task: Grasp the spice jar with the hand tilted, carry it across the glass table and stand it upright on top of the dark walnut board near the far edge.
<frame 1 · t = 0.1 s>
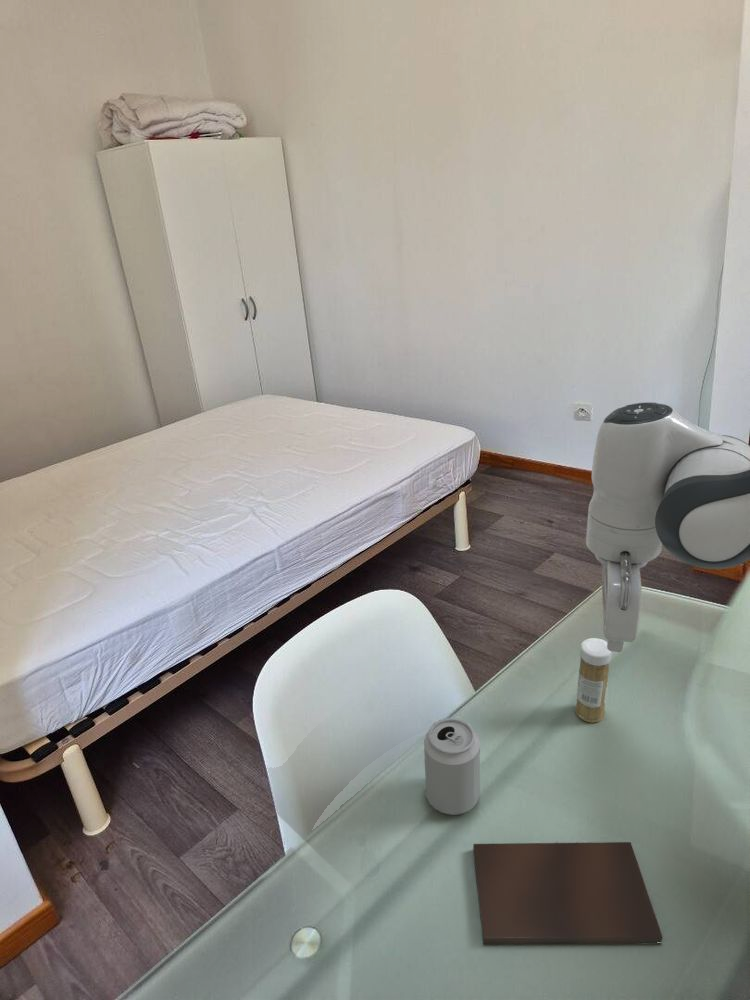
hand: (613, 625, 90), 25 cm above the table, tool pointing down, fingers open, 8 cm apart
spice jar: (589, 714, 109), on the table
walnut board: (560, 893, 83), on the table
can: (452, 797, 97), on the table
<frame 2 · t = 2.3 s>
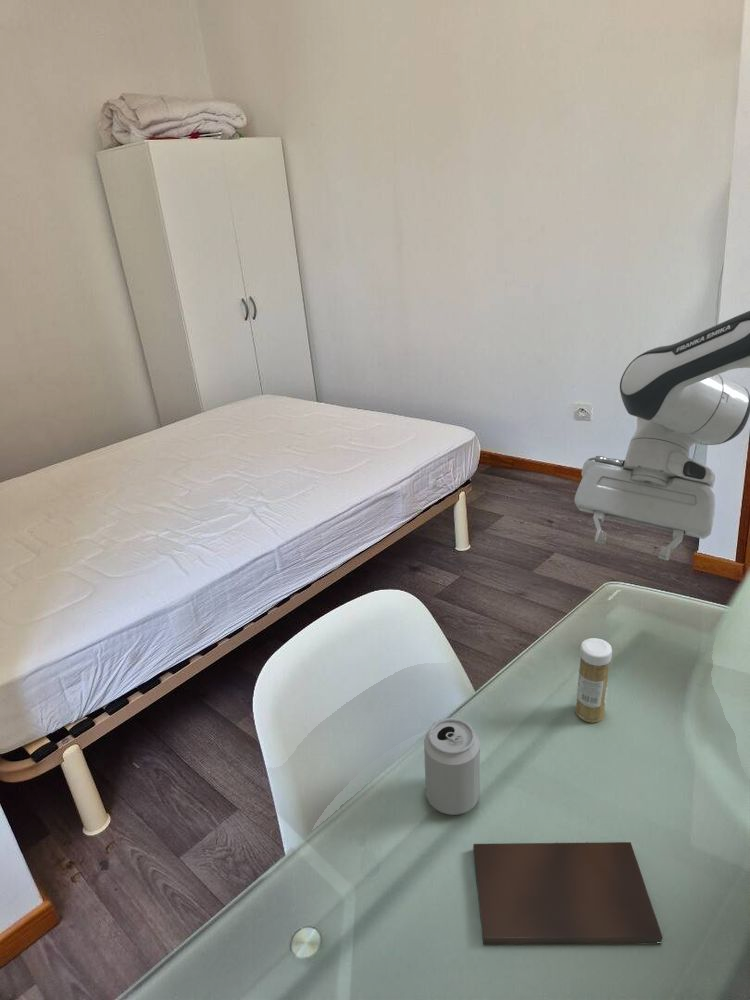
hand: (630, 550, 105), 25 cm above the table, tool tilted 40°, fingers open, 8 cm apart
nothing on the table moved.
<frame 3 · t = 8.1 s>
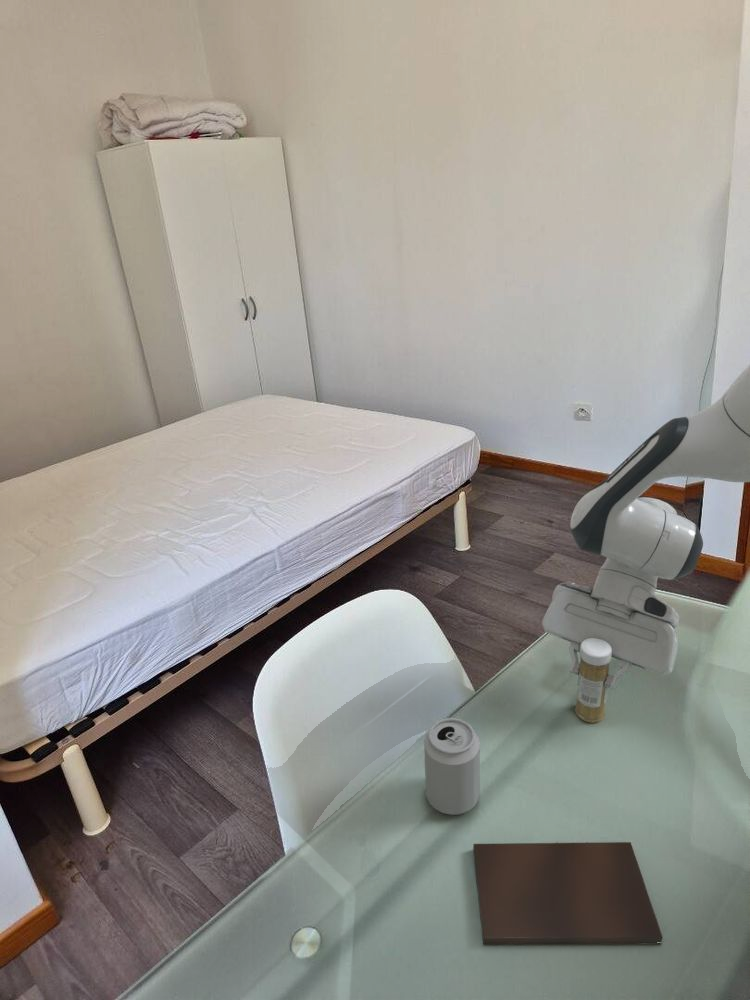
hand: (591, 680, 106), 7 cm above the table, tool tilted 45°, fingers closed on spice jar, 4 cm apart
spice jar: (589, 714, 109), on the table, touching gripper
everything else where it was.
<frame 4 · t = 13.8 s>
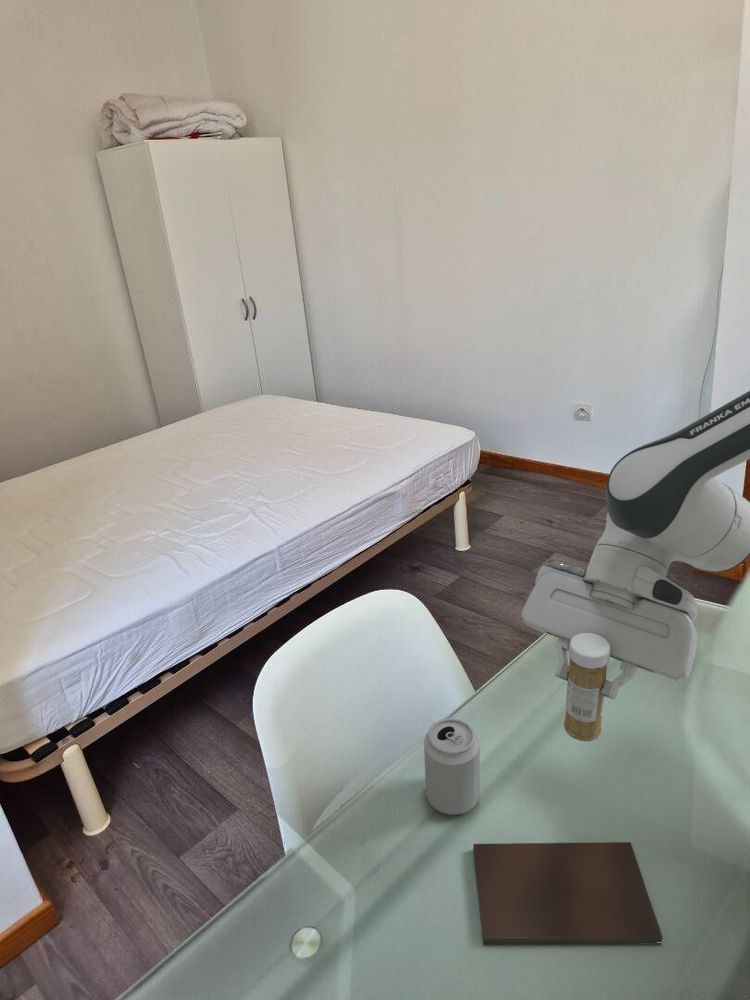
hand: (584, 688, 82), 23 cm above the table, tool tilted 45°, fingers closed on spice jar, 4 cm apart
spice jar: (581, 730, 86), point 16 cm above the table, touching gripper
everything else where it was.
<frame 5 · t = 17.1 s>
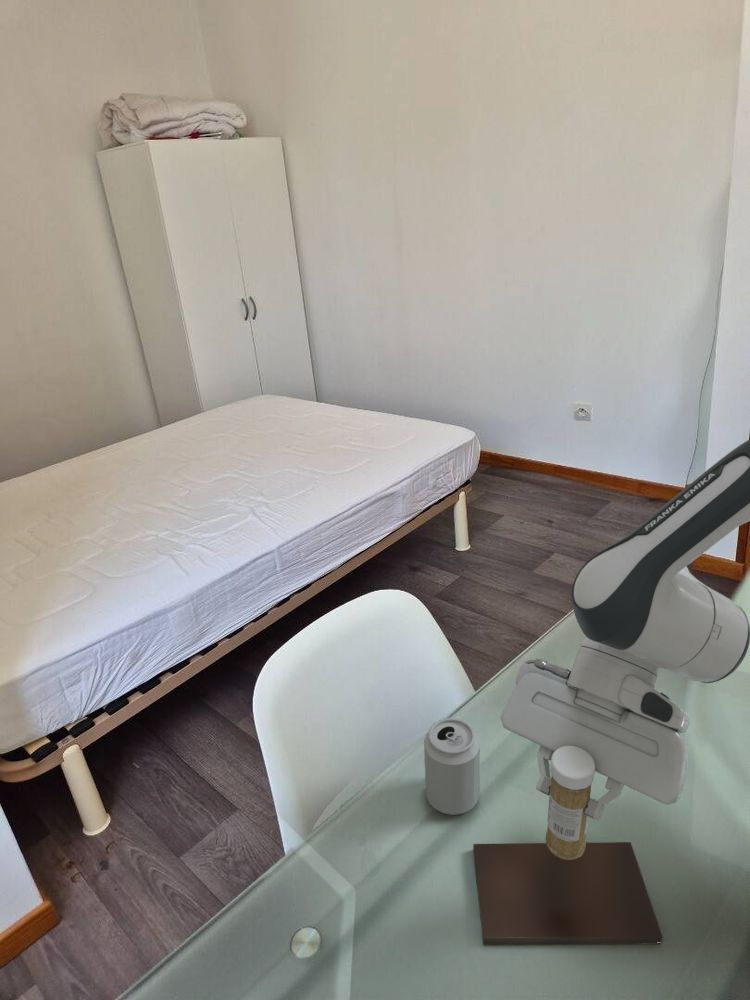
hand: (567, 805, 76), 16 cm above the table, tool tilted 45°, fingers closed on spice jar, 4 cm apart
spice jar: (564, 844, 79), point 9 cm above the table, touching gripper
everything else where it was.
when the fingers open (8 cm above the table, at t = 19.6 s): spice jar stays where it is, resting on walnut board.
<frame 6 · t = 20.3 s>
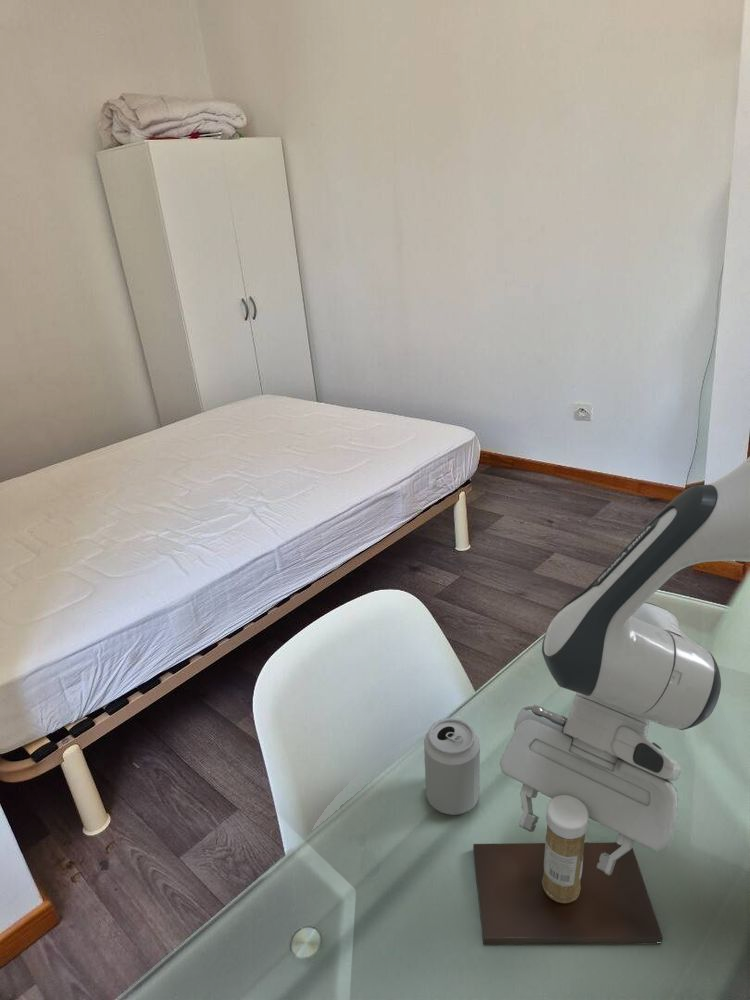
hand: (563, 849, 79), 9 cm above the table, tool tilted 45°, fingers open, 8 cm apart
spice jar: (560, 887, 83), point 1 cm above the table, touching walnut board
everything else where it was.
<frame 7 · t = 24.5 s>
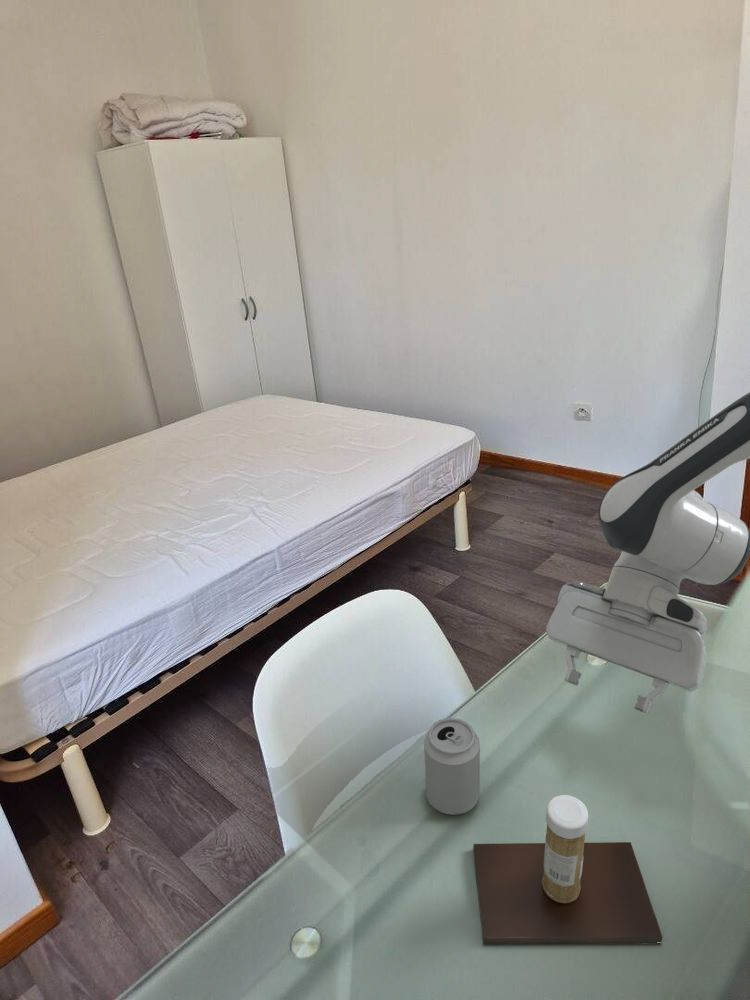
hand: (604, 697, 90), 16 cm above the table, tool tilted 45°, fingers open, 8 cm apart
nothing on the table moved.
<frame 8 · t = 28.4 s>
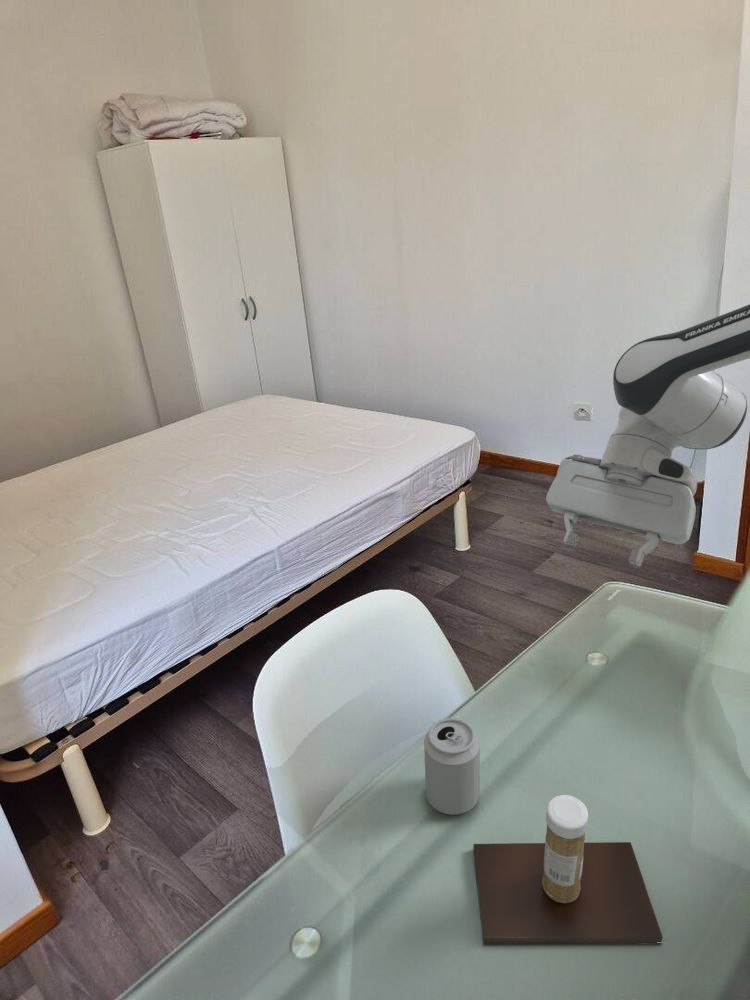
hand: (600, 554, 97), 29 cm above the table, tool tilted 45°, fingers open, 8 cm apart
nothing on the table moved.
at the end: spice jar inside the target area on the walnut board (0.1 cm from its centre), point 1.0 cm above the walnut board's base; spice jar tilted 0°; the gripper is holding nothing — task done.
